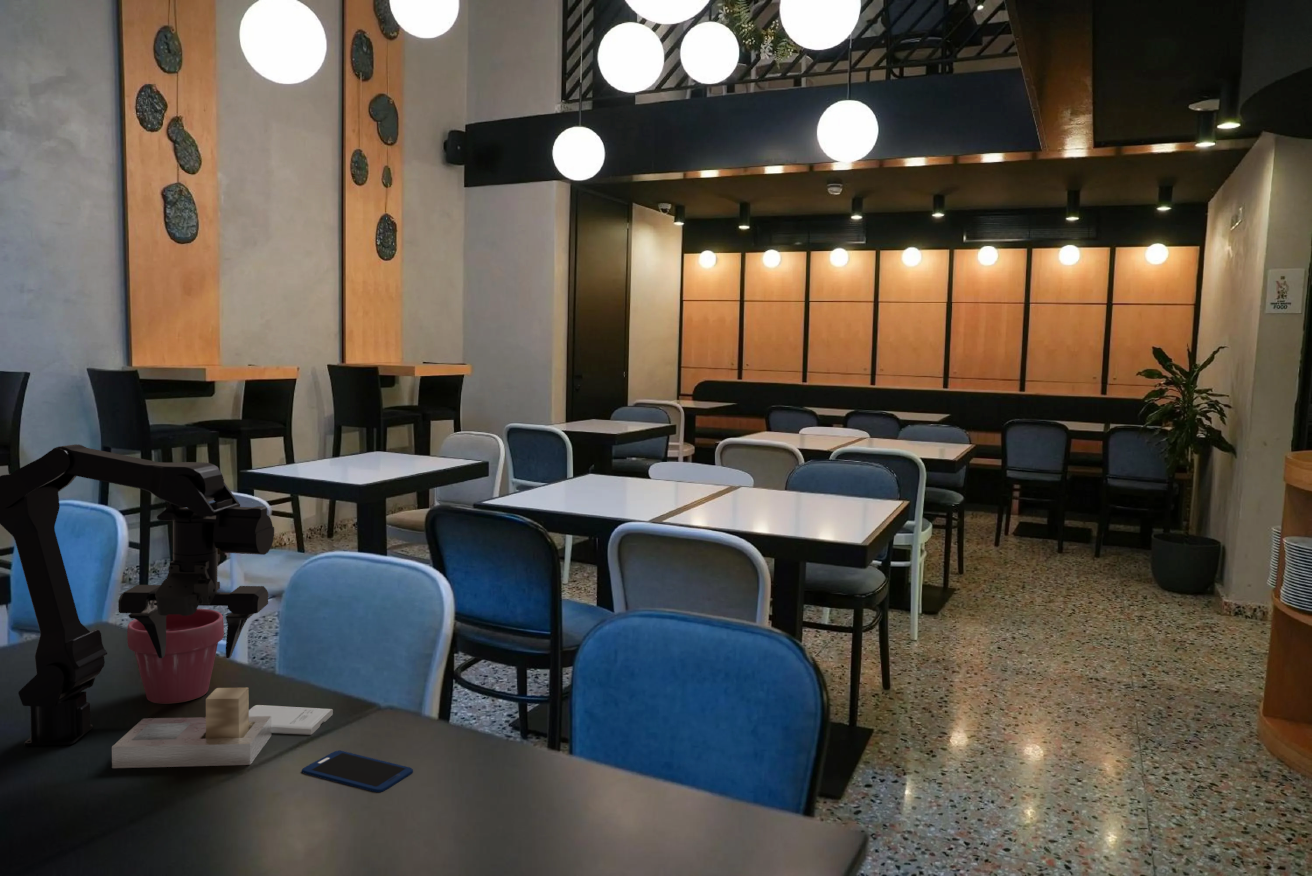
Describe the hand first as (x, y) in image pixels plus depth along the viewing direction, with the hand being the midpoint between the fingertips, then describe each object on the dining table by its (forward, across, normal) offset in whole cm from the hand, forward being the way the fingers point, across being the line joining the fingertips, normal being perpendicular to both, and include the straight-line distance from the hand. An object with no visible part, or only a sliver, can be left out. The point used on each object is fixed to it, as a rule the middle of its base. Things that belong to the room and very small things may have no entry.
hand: (195, 657), depth 132 cm
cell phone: (+13, +25, -11) cm, 30 cm away
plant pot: (+13, -10, +20) cm, 26 cm away
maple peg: (+13, +6, -3) cm, 14 cm away
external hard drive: (+13, +10, +7) cm, 18 cm away
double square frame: (+13, +1, -3) cm, 13 cm away
